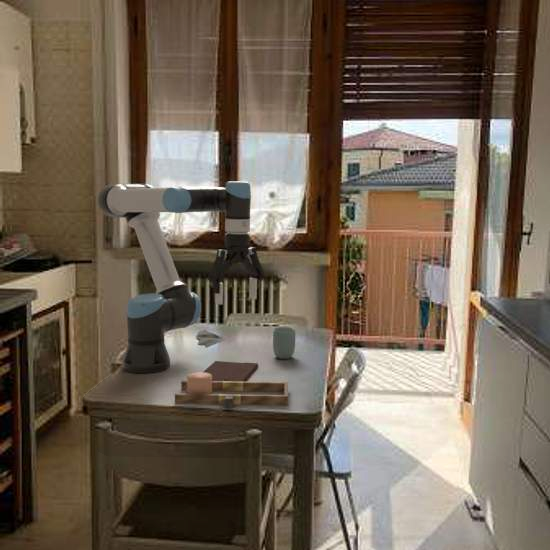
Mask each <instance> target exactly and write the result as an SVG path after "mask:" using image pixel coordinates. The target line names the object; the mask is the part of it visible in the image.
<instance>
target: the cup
mask: <svg viewBox="0 0 550 550" xmlns="http://www.w3.org/2000/svg"><path fill="white" fill-rule="evenodd" d="M272 348H273V353H274V355H275V357H276V358H277V359H280V360H288V359H291V358H292V357H293V355H294V353H295V349H296V329H295V328H293V327H289V326H288V327H287V326H279V327H275V328H273V329H272Z"/></svg>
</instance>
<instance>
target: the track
mask: <svg viewBox="0 0 550 550" xmlns="http://www.w3.org/2000/svg"><path fill="white" fill-rule="evenodd" d="M180 386H181V387H180V389H187V380H181V383H180ZM215 390H218V391H221V392H222V391H223V392H224V391H226V392H227V391H228V392H229V391H230V392H231V391H232V392H283V393H284V394H234V393H233V394H229V393H226V394H224V393H212V394H187V393H174V404H175V403H198V404H197V405H224V408H227V409H230V408H231V409H233V408H234V405H243V406H244V405H245V406H249V405H250V406H255V405H256V406H288V405H289V382H286V381H283V382H282V381H246V382H239V381H212V391H215ZM218 391H217V392H218Z"/></svg>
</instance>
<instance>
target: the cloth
mask: <svg viewBox="0 0 550 550" xmlns="http://www.w3.org/2000/svg"><path fill="white" fill-rule="evenodd" d="M195 339H196V340H198V343H197V345H198V346H203V347H204V348H209V347H211V346H214V345H217V344H219V343H222V342H223V341H225V340H226V338H225V337H223V336H220V335H218V334H215V333H214V332H211V331H210V332H209V331H208V330H206V329H204V330H199V331H198V332H197V335H196V336H195Z"/></svg>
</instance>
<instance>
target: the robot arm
mask: <svg viewBox="0 0 550 550" xmlns="http://www.w3.org/2000/svg"><path fill="white" fill-rule="evenodd" d="M251 200H252V190H251V183H249V182H248V181H227V182H226V183H225V187H218V186H210V185H209V186H171V187H154V186H153V185H151V184H148V183H147V184H146V183H142V182H139V183H110V184H108V185H107V184H106V185H105V186H103V188H102V189H100V191H99V192H98V194H97V197H96V201H97V203H96V204H97V206H98V209H99V210H100V211H101V212H102V213H103V214H104V215H106V216H108V217H110V218H125V220H126V222H127V225H128V226H129V227H130V228H132V229H134V231H135V234H136V237H137V239H138V243H139V245H140V248H141V250H142V251H141V252H142V254H143V256H144V259H145V262H146V264H147V267H148V270H149V273H150V275H151V278H152V281H153V284H154V286H155V288H156V291H155V293H154V292H152V293H147V294H146V293H144V294H139V295H135V296H133V297H131V298H130V299H129V300H128V303H127V304H126V306H127V308H126V309H127V310H126V316H127V319H126V320H127V347H126V350H125V352H124V353H125V354H124V356H123V360H122V368H123V370H124V371H125V372H128V373H133V374H151V373H158V372H162V371H165V370H168V369H169V368H170V367H171V358H170V355H169V352H168V349H167V346H166V343H165V332H169V331H174V330H179V329H185V328H187V327H189V326H193V325H195V324H196V323H197V322H198V320H199V319H200V315H201V312H202V302H201V300H200V298H199V295H197V294H196V293H195V292H193V291H189V288H188V285H187V284H186V283H185V282H183V281H181V279H180V276H179V274H178V271H177V269H176V267H175V263H174V261H173V258H172V255H171V253H170V250H169V247H168V245H167V242H166V239H165V237H164V233H163V231H162V229H161V226H160V223H159V219H160V217H161V213H174V214H182V213H183V214H186V213H202V212H203V213H204V212H207V213H208V212H218V213H225V218H224V219H225V221H224V223H225V226H224V231H225V232H226V233H225V234H224V245H225V249H217V250H216V257H215V260H214V262H213V264H212V267H211V270H210V273H209V275H208V277H207V280H208V281H210V282H213V293H214V296H215V297H214V301H215V302H214V303H215V304H217V305H220V306H221V305H224V303H223V302H224V300H223V299H224V283H223V282H222V281H223V279H224V278H225V276H226V274H227V273H228V272H229V270H230V268H231V267H232V266H233V265H234V264H235V265H236V264H243V266H244V267H245V268H246V270H247V272H248V273H249V275H250V277H249V284H248V285H249V286H248V288H249V289H248V290H249V292H248V295H249V296H248V298H249V299H252V300H257V297H258V296H257V295H258V293H257V292H258V291H257V289H258V288H259V280H260V279H261V278H262V277H263V276H264V269H263V268H262V265H261V263H260V260H259V257H258V255H257V253H258V251H257V247H252V246H250V241H251V239H250V238H251V235H250V233H249V232H250V231H251V202H252V201H251ZM248 256H249V257H248Z"/></svg>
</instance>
